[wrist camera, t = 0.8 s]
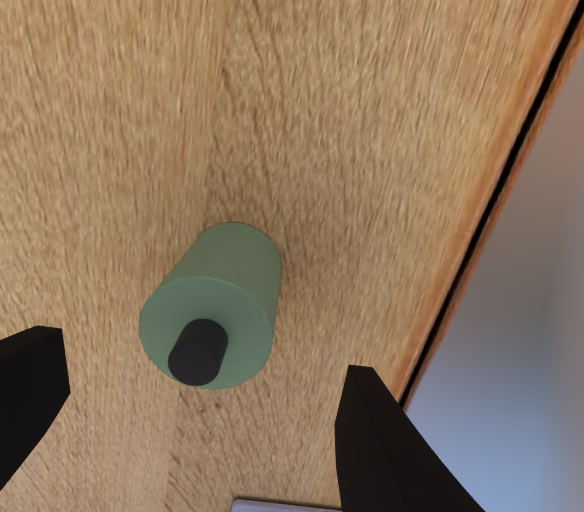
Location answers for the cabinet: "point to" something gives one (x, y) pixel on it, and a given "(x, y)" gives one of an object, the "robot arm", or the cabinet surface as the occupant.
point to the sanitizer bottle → (215, 309)
